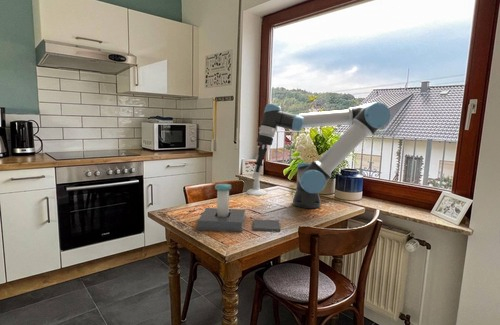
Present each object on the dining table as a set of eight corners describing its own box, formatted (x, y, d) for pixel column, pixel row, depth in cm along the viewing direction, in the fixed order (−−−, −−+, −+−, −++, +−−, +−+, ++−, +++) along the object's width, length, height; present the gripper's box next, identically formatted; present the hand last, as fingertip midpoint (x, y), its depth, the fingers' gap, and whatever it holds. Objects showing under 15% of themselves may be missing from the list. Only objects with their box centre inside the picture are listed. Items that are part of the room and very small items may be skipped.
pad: (278, 222, 132) (278, 220, 132) (280, 231, 121) (280, 229, 121) (254, 221, 133) (254, 219, 133) (253, 230, 122) (253, 227, 122)
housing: (244, 217, 137) (245, 209, 137) (241, 232, 120) (241, 222, 119) (206, 216, 138) (206, 207, 138) (197, 230, 120) (197, 220, 120)
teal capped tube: (231, 221, 132) (232, 183, 130) (229, 226, 125) (230, 187, 123) (216, 220, 132) (216, 183, 130) (213, 225, 126) (214, 186, 123)
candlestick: (242, 193, 185) (243, 145, 181) (255, 189, 195) (256, 144, 191) (258, 196, 177) (259, 146, 173) (270, 193, 187) (272, 145, 182)
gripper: (258, 136, 157) (248, 175, 157) (258, 131, 132) (246, 177, 132) (272, 140, 157) (262, 179, 157) (274, 135, 132) (263, 181, 132)
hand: (255, 178), depth 144 cm, fingers open, 13 cm apart
